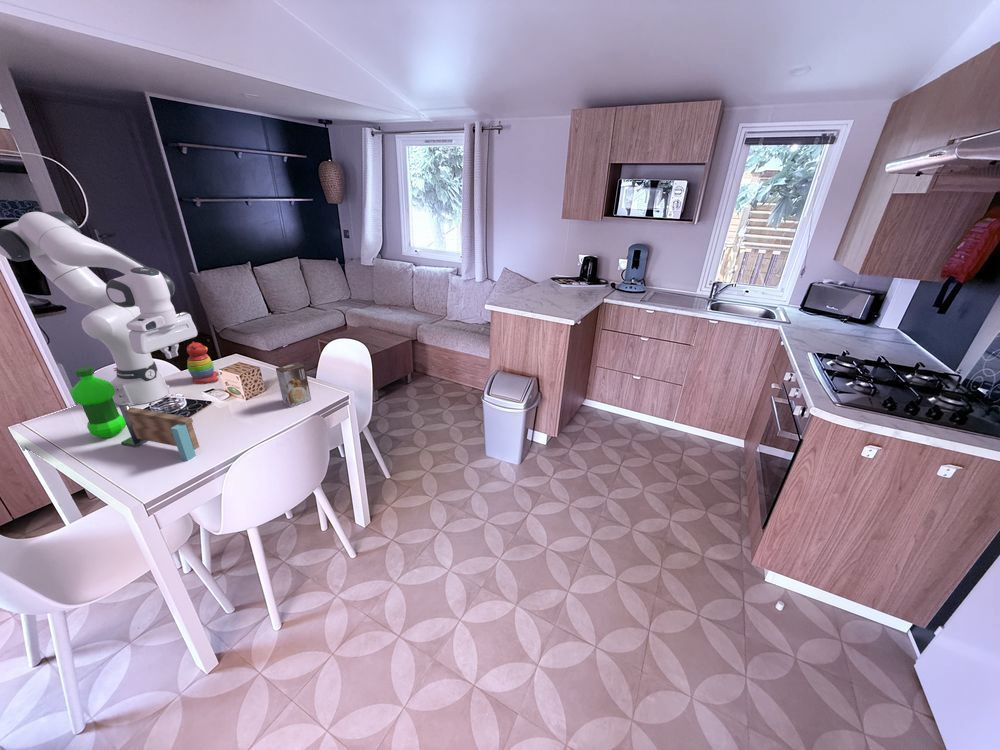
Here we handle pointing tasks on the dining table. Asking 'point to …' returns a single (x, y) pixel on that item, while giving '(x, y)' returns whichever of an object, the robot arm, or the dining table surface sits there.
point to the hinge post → (130, 430)
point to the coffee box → (293, 384)
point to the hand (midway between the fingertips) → (172, 357)
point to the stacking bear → (200, 364)
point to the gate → (158, 426)
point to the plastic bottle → (97, 404)
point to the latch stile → (183, 441)
